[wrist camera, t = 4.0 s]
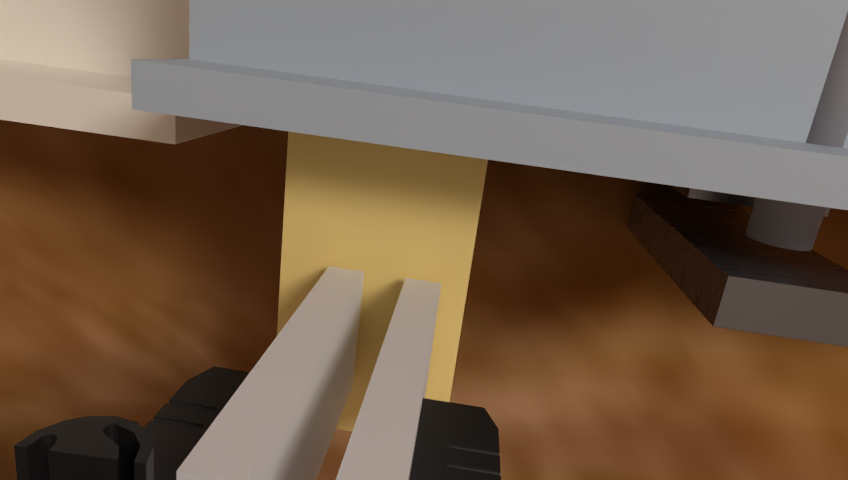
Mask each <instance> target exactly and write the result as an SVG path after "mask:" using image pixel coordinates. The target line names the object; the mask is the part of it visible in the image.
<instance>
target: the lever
mask: <svg viewBox="0 0 848 480" xmlns="http://www.w3.org/2000/svg"><path fill="white" fill-rule="evenodd" d="M131 91H132V109H133V110H140V111H147V112H154V113H161V114H168V115H175V116H182V117H190V118H197V119H204V120H211V121H218V122H225V123H232V124H239V125H246V126H253V127H260V128H268V129H275V130H282V131H288V146H287V164H286V181H285V199H284V217H283V235H282V252H281V270H280V288H279V306H278V323H277V335H278V334H279V333H280V331H281V330H282V329H283V327H284V326H285V325H286V323H287V322H288V321H289V319H290V318H291V317H292V315H293V314H294V313H295V311H296V310H297V309H298V307H299V306H300V304H301V303H302V302H303V300H304V299H305V298H306V296H307V295H308V294H309V292H310V291H311V290H312V288H313V287H314V286H315V284H316V283H317V282H318V280H319V279H320V278H321V276H322V275H323V274H324V272H325V271H326V270H327V268H328V267H329V266H331V267H338V268H345V269H351V270H358V271H365V272H364V282H363V292H362V301H361V311H360V321H359V331H358V340H357V350H356V360H355V370H354V379H353V387H352V389H351V392H350V394H349V397H348V399H347V402H346V404H345V407H344V409H343V412H342V415H341V417H340V420H339V422H338V425H337V427H336V429H340V430H346V431H353V429H354V426H355V423H356V420H357V417H358V414H359V411H360V408H361V405H362V403H363V400H364V397H365V394H366V391H367V388H368V385H369V382H370V379H371V376H372V374H373V371H374V368H375V365H376V362H377V359H378V356H379V353H380V350H381V348H382V345H383V342H384V339H385V336H386V333H387V330H388V327H389V324H390V321H391V319H392V316H393V313H394V310H395V307H396V304H397V301H398V298H399V295H400V293H401V290H402V287H403V284H404V281H405V278H411V279H417V280H424V281H431V282H437V283H442V284H441V291H440V298H439V305H438V312H437V319H436V326H435V333H434V339H433V346H432V353H431V360H430V367H429V374H428V381H427V388H426V395H425V398H426V399H432V400H438V401H445V402H450V395H451V389H452V383H453V377H454V370H455V364H456V358H457V351H458V345H459V339H460V333H461V326H462V320H463V314H464V308H465V301H466V295H467V289H468V283H469V276H470V270H471V264H472V257H473V251H474V245H475V239H476V232H477V226H478V220H479V214H480V207H481V201H482V195H483V188H484V182H485V176H486V170H487V163H488V160H494V161H502V162H509V163H516V164H523V165H530V166H537V167H544V168H551V169H558V170H565V171H572V172H580V173H587V174H594V175H601V176H608V177H615V178H622V179H629V180H636V181H643V182H650V183H658V184H665V185H672V186H679V187H686V188H693V189H700V190H707V191H714V192H721V193H728V194H736V195H743V196H750V197H756V199H755V202H754V206H753V209H752V212H751V216H750V219H749V222H748V226H747V229H746V232H745V235H746V236H748V237H749V238H751V239H754V240H756V241H759V242H762V243H765V244H768V245H772V246H775V247H780V248H784V249H790V250H797V251H810V250H812V248H813V245H814V243H815V240H816V237H817V234H818V231H819V228H820V225H821V222H822V219H823V216H824V213H825V210H826V207H828V208H835V209H842V210H848V0H189V59H131Z"/></svg>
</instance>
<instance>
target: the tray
mask: <svg viewBox="0 0 848 480" xmlns="http://www.w3.org/2000/svg"><path fill="white" fill-rule="evenodd" d="M131 59H189V0H0V120H7V121H14V122H21V123H28V124H35V125H42V126H49V127H56V128H63V129H70V130H77V131H84V132H91V133H98V134H105V135H112V136H119V137H126V138H133V139H140V140H147V141H154V142H161V143H168V144H175V145H176V144H179V143H183V142H186V141H190V140H193V139H197V138H200V137H204V136H207V135H211V134H214V133H218V132H221V131H225V130H228V129H232V128H235V127H239V126H242V125H239V124H232V123H225V122H218V121H211V120H204V119H197V118H190V117H182V116H175V115H168V114H161V113H154V112H147V111H140V110H133V109H132V91H131Z"/></svg>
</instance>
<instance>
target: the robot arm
mask: <svg viewBox="0 0 848 480" xmlns="http://www.w3.org/2000/svg"><path fill="white" fill-rule="evenodd" d="M364 272H365V271H358V270H351V269H345V268H338V267H331V266H329V267H328V268H327V270H326V271H325V272H324V274H323V275H322V276H321V278H320V279H319V280H318V282H317V283H316V284H315V286H314V287H313V288H312V290H311V291H310V292H309V294H308V295H307V296H306V298H305V299H304V300H303V302H302V303H301V304H300V306H299V307H298V309H297V310H296V311H295V313H294V314H293V315H292V317H291V318H290V319H289V321H288V322H287V323H286V325H285V326H284V327H283V329H282V330H281V331H280V333H279V334H278V335H277V337H276V338H275V339H274V341H273V342H272V343H271V345H270V346H269V347H268V349H267V350H266V351H265V353H264V354H263V356H262V357H261V358H260V360H259V361H258V362H257V364H256V365H255V366H254V368H253V369H252V370H251V372H244V371H238V370H232V369H226V368H220V367H213V368H211V369H209V370H207V371H205V372H203V373H201V374H199V375H197V376H195V377H193V378H192V379H190V380H188V381H186V383H185V384H184V385H183V386H182V387H181V388H180V389H179V390H178V391H177V392H176V393H175V394H174V396H173V397H172V398H171V399H170V400H169V404H165V405H164V406H163V407H162V409H161V410H160V411H159V412H158V413H157V414H156V415H155V416H154V420H153V421H150V422H149V423H148V424H147V425H146V426H145V427H144V428H143V427H142V426H141V425H139V424H138V423H137V422H134V421H130V420H127V419H123V418H120V417H116V416H88V417H83V418H77V419H72V420H66V421H62V422H59V423H57V424H54V425H51V426H49V427H46V428H44V429H41V430H38V431H36V432H35V433H33V434H31V435H30V436H28V437H27V438H25V439H24V440H22V441H21V442H19V443H18V444H16V445H15V446H14V447H15V458H16V469H17V480H316V478H317V475H318V473H319V470H320V468H321V465H322V463H323V460H324V458H325V455H326V453H327V450H328V448H329V445H330V442H331V440H332V437H333V435H334V432H335V430H336V427H337V425H338V422H339V420H340V417H341V415H342V412H343V409H344V407H345V404H346V402H347V399H348V397H349V394H350V392H351V389H352V387H353V379H354V370H355V360H356V350H357V340H358V331H359V321H360V311H361V301H362V292H363V282H364ZM441 284H442V283H437V282H431V281H424V280H417V279H411V278H405V281H404V284H403V287H402V290H401V293H400V295H399V298H398V301H397V304H396V307H395V310H394V313H393V316H392V319H391V321H390V324H389V327H388V330H387V333H386V336H385V339H384V342H383V345H382V348H381V350H380V353H379V356H378V359H377V362H376V365H375V368H374V371H373V374H372V376H371V379H370V382H369V385H368V388H367V391H366V394H365V397H364V400H363V403H362V405H361V408H360V411H359V414H358V417H357V420H356V423H355V426H354V429H353V431H352V434H351V437H350V440H349V443H348V446H347V449H346V452H345V455H344V458H343V460H342V463H341V466H340V469H339V472H338V475H337V478H336V480H501V476H500V456H499V434H498V428H497V426H496V425H495V423H494V422H493V420H492V419H491V417H490V416H489V414H488V413H487V411H486V410H485V408H482V407H476V406H470V405H463V404H457V403H451V402H445V401H438V400H432V399H426V398H425V395H426V388H427V381H428V374H429V367H430V360H431V353H432V346H433V339H434V333H435V326H436V319H437V312H438V305H439V298H440V291H441Z"/></svg>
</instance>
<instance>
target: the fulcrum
mask: <svg viewBox="0 0 848 480" xmlns="http://www.w3.org/2000/svg"><path fill="white" fill-rule="evenodd" d="M670 186H671V187H673V188H674V189H676V190H677V191H679V192H680V193H682V194H683V195H685V196H686V197H688V198H694V199H701V200H709V201H716V202H723V203H730V204H737V205H744V206H751V207H753V206H754V202H755V199H756V197H750V196H743V195H736V194H728V193H721V192H714V191H707V190H700V189H693V188H686V187H679V186H672V185H670ZM829 211H830V208H828V207H826V210H825V213H824V216H823V217H828V214H829ZM750 216H751V214H749V213H747V212H745V211H744V210H739V209H732V208H724V207H717V206H710V205H703V204H696V203H689V202H682V201H675V200H668V199H661V198H654V197H647V196H640V195H636V196H635V201H634V205H633V209H632V213H631V217H630V221H629V226H628V229H629V230H630V232H631V233H632V234H633V235H634V236H635V237H636V238H637V240H638V241H639V242H640V243H641V244H642V245H643V246H644V248H645V249H646V250H647V251H648V252H649V253H650V254H651V256H652V257H653V258H654V259H655V260H656V261H657V262H658V264H659V265H660V266H661V267H662V268H663V269H664V270H665V272H666V273H667V274H668V275H669V276H670V277H671V279H672V280H673V281H674V282H675V283H676V284H677V285H678V287H679V288H680V289H681V290H682V291H683V292H684V293H685V295H686V296H687V297H688V298H689V299H690V300H691V301H692V303H693V304H694V305H695V306H696V307H697V308H698V309H699V311H700V312H701V313H702V314H703V315H704V316H705V317H706V319H707V320H708V321H709V322H710V323H711V324H712V325H713V326H714V327H720V328H727V329H733V330H740V331H747V332H753V333H760V334H767V335H773V336H780V337H786V338H793V339H800V340H806V341H813V342H820V343H826V344H833V345H839V346H846V347H848V270H846V269H844V268H843V267H841V266H839V265H837V264H836V263H834V262H832V261H830V260H829V259H827V258H825V257H823V256H822V255H820V254H818V253H816V252H815V251H813V250H810V251H797V250H790V249H784V248H780V247H775V246H772V245H768V244H765V243H762V242H759V241H756V240H754V239H751V238H749V237H748V236H746V235H745V232H746V229H747V226H748V222H749V219H750Z"/></svg>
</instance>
